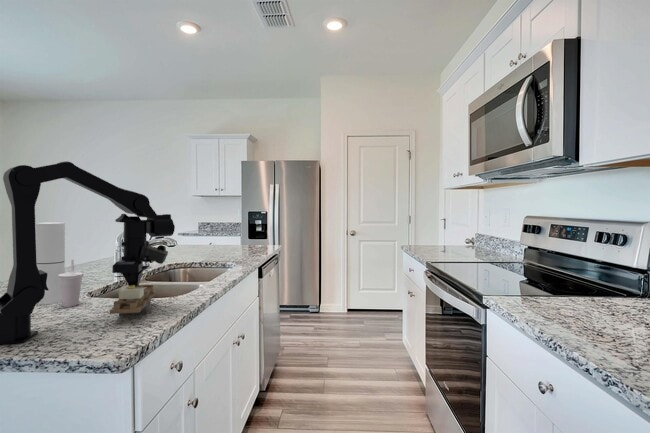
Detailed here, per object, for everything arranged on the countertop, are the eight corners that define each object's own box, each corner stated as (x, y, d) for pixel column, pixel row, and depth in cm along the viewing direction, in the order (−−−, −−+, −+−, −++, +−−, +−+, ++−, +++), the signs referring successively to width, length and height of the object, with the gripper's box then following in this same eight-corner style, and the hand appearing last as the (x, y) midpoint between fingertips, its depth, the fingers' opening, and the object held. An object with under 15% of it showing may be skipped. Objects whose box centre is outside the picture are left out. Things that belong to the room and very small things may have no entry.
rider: (139, 304, 95) (140, 287, 95) (118, 305, 93) (118, 287, 93) (143, 300, 99) (143, 283, 98) (123, 301, 97) (123, 284, 97)
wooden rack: (139, 323, 91) (139, 301, 91) (109, 325, 89) (109, 302, 89) (156, 303, 110) (156, 284, 110) (131, 304, 109) (132, 285, 108)
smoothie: (69, 309, 102) (70, 262, 102) (52, 307, 104) (52, 261, 103) (88, 303, 109) (88, 259, 108) (71, 301, 110) (71, 258, 110)
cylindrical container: (31, 305, 106) (31, 223, 105) (43, 298, 112) (43, 222, 112) (58, 303, 107) (58, 223, 107) (68, 297, 114) (68, 222, 114)
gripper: (158, 241, 92) (158, 299, 92) (171, 235, 110) (170, 284, 110) (111, 241, 89) (111, 301, 89) (132, 235, 107) (132, 285, 107)
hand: (134, 292), depth 99 cm, fingers closed
